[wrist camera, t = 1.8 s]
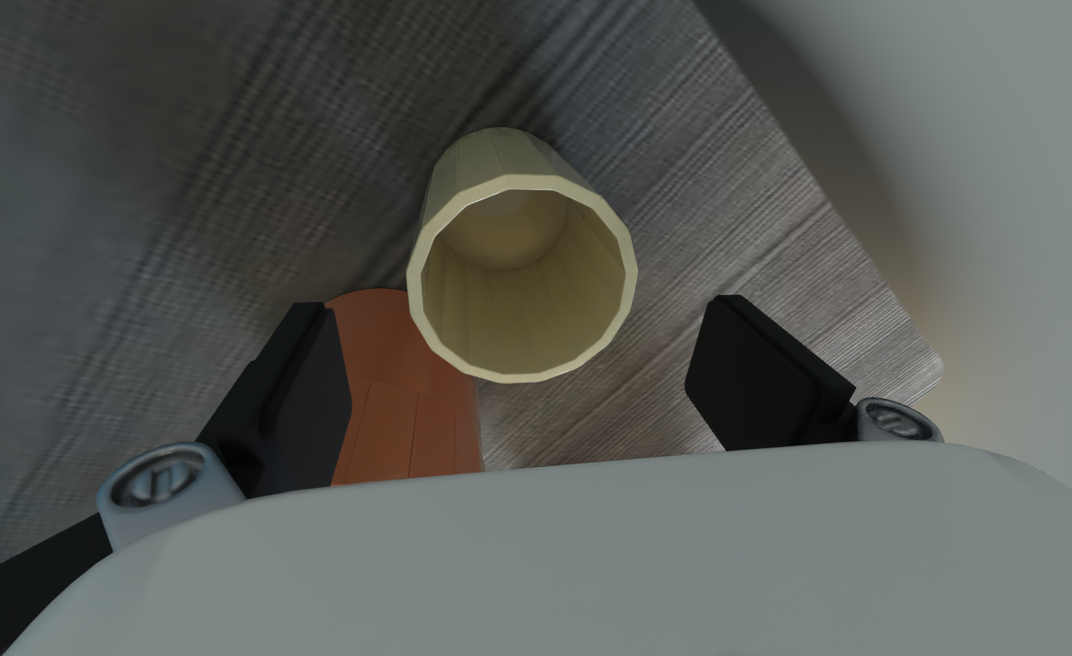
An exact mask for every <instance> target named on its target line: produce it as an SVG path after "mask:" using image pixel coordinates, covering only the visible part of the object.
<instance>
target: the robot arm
mask: <svg viewBox="0 0 1072 656" xmlns="http://www.w3.org/2000/svg"><path fill="white" fill-rule="evenodd" d="M855 389H856V387H855V386H854V385H853V384H851V383H850V382H849V381H848V380H846V379H845V378H844V377H843V376H842V375H840V374H839V373H838V372H837V371H835V370H834V369H833V368H832V367H830V366H829V365H828V364H827V363H825V362H824V361H823V360H822V359H820V358H819V357H818V356H817V355H815V354H814V353H813V352H812V351H810V350H809V349H808V348H807V347H805V346H804V345H803V344H802V343H800V342H799V341H798V340H797V339H795V338H794V337H793V336H792V335H790V334H789V333H788V332H787V331H785V330H784V329H783V328H782V327H780V326H779V325H778V324H777V323H775V322H774V321H773V320H772V319H770V318H769V317H768V316H767V315H765V314H764V313H763V312H762V311H760V310H759V309H758V308H757V307H755V306H754V305H753V304H752V303H750V302H749V301H748V300H747V299H746V298H744V297H743V296H741V295H718V296H716V297H715V298H714V299H713V301H710V302H709V303H708V305H707V307H706V311H705V314H704V318H703V321H702V324H701V328H700V331H699V335H698V338H697V342H696V345H695V348H694V352H693V355H692V359H691V362H690V365H689V369H688V372H687V376H686V379H685V392H686V394H687V396H688V397H689V399H690V400H691V402H692V403H693V405H694V406H695V407H696V409H697V410H698V412H699V413H700V414H701V416H702V417H703V419H704V420H705V422H706V423H707V424H708V426H709V427H710V429H711V430H712V432H713V433H714V434H715V436H716V437H717V439H718V440H719V441H720V443H721V444H722V446H723V447H724V449H725V450H726V451H725V452H713V453H701V454H689V455H677V456H665V457H653V458H641V459H629V460H617V461H605V462H593V463H581V464H569V465H557V466H545V467H533V468H521V469H509V470H498V471H486V472H475V473H464V474H453V475H441V476H430V477H419V478H407V479H396V480H385V481H373V482H364V483H356V484H347V485H339V486H330V485H331V482H332V479H333V475H334V472H335V469H336V465H337V462H338V458H339V455H340V452H341V448H342V445H343V442H344V438H345V435H346V431H347V428H348V425H349V421H350V418H351V414H352V397H351V392H350V387H349V382H348V377H347V372H346V367H345V362H344V357H343V352H342V347H341V342H340V337H339V332H338V327H337V322H336V316H335V312H334V310H333V309H332V308H326V307H325V305H324V304H323V303H322V302H306V303H294V304H293V305H292V307H291V308H290V309H289V311H288V312H287V314H286V315H285V317H284V318H283V320H282V321H281V323H280V324H279V326H278V327H277V329H276V330H275V332H274V333H273V335H272V336H271V338H270V339H269V340H268V342H267V343H266V345H265V346H264V348H263V349H262V351H261V352H260V354H259V355H258V357H257V358H256V360H254V361H251V362H250V363H249V364H248V365H247V366H246V368H245V369H244V371H243V372H242V374H241V375H240V377H239V378H238V379H237V381H236V382H235V384H234V385H233V387H232V388H231V390H230V391H229V392H228V394H227V395H226V397H225V398H224V400H223V401H222V403H221V404H220V405H219V407H218V408H217V410H216V411H215V413H214V414H213V416H212V417H211V418H210V420H209V421H208V423H207V424H206V426H205V427H204V429H203V430H202V431H201V433H200V434H199V436H198V437H197V439H196V440H195V442H177V443H172V444H167V445H163V446H160V447H157V448H154V449H152V450H149V451H146V452H144V453H142V454H140V455H138V456H136V457H134V458H133V459H131V460H129V461H128V462H126V463H125V464H123V465H122V466H121V467H119V468H118V469H116V470H115V471H114V472H113V473H112V474H111V475H110V476H109V477H108V478H107V479H106V480H105V481H104V482H103V484H102V486H101V488H100V490H99V492H98V493H97V507H98V510H99V512H98V513H96V514H94V515H92V516H91V517H89V518H87V519H85V520H83V521H81V522H79V523H77V524H75V525H73V526H71V527H70V528H68V529H66V530H64V531H62V532H60V533H58V534H56V535H54V536H52V537H50V538H49V539H47V540H45V541H43V542H41V543H39V544H37V545H35V546H33V547H31V548H29V549H28V550H26V551H24V552H22V553H20V554H18V555H16V556H14V557H12V558H10V559H9V560H7V561H5V562H3V563H1V564H0V656H1072V489H1070V488H1069V487H1067V486H1066V485H1064V484H1063V483H1061V482H1059V481H1058V480H1056V479H1055V478H1053V477H1051V476H1050V475H1048V474H1046V473H1044V472H1043V471H1041V470H1039V469H1037V468H1035V467H1033V466H1031V465H1029V464H1027V463H1024V462H1022V461H1019V460H1016V459H1013V458H1011V457H1007V456H1004V455H1000V454H997V453H993V452H990V451H986V450H982V449H977V448H973V447H968V446H963V445H957V444H950V443H945V442H944V439H943V436H942V434H941V432H940V430H939V428H938V427H937V426H936V425H935V424H934V423H933V422H932V421H931V420H929V419H928V418H927V417H925V416H924V415H922V414H921V413H919V412H918V411H916V410H914V409H912V408H910V407H908V406H906V405H903V404H901V403H898V402H895V401H892V400H888V399H884V398H875V397H869V398H863V399H862V400H860V401H858V403H857V405H856V407H855V406H854V405H853V404H852V403H851V402H849V400H850V398H851V397H852V395H853V393H854V391H855Z"/></svg>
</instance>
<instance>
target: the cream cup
mask: <svg viewBox="0 0 1072 656" xmlns="http://www.w3.org/2000/svg"><path fill="white" fill-rule="evenodd" d="M637 277H638V266H637V262H636V258H635V253H634V249H633V244H632V240H631V235H630V232H629V230H628V228H627V227H626V226H625V225H624V223H623V222H622V221H621V220H620V218H619V217H618V216H617V215H616V213H615V212H614V211H613V209H612V208H611V207H610V206H609V204H608V203H607V202H606V201H605V199H604V198H603V197H602V196H601V195H600V194H599V193H598V192H597V191H596V190H595V189H594V188H593V187H592V186H591V185H590V184H589V183H588V182H587V181H586V180H585V179H584V178H582V177H581V176H580V175H579V174H578V173H577V172H576V171H575V170H574V169H573V168H572V167H571V166H570V165H569V164H568V163H567V162H566V161H565V160H564V159H563V158H562V157H561V156H560V155H559V154H558V153H557V152H556V151H555V150H554V149H553V148H552V147H551V146H550V145H548V144H547V143H545V142H543V141H542V140H540V139H538V138H537V137H535V136H533V135H531V134H529V133H527V132H524V131H522V130H518V129H514V128H506V127H492V128H486V129H481V130H478V131H475V132H472V133H470V134H468V135H466V136H464V137H462V138H460V139H459V140H458V141H456V142H455V143H453V144H452V145H451V146H450V147H449V148H448V149H447V150H446V151H445V152H444V154H443V155H442V156H441V157H440V159H439V160H438V161H437V162H436V164H435V166H434V169H433V172H432V174H431V177H430V180H429V183H428V186H427V189H426V192H425V196H424V200H423V204H422V208H421V212H420V216H419V220H418V224H417V228H416V232H415V236H414V240H413V244H412V249H411V253H410V257H409V261H408V265H407V269H406V282H407V291H408V301H409V311H410V314H411V317H412V319H413V321H414V322H415V324H416V326H417V327H418V329H419V331H420V332H421V334H422V336H423V337H424V339H425V341H426V342H427V344H428V346H429V347H430V349H432V351H434V352H435V353H436V354H438V355H439V356H441V357H442V358H443V359H445V360H446V361H447V362H449V363H450V364H451V365H453V366H454V367H456V368H457V369H458V370H460V371H461V372H463V373H465V374H469V375H472V376H476V377H479V378H483V379H487V380H490V381H494V382H497V383H502V384H503V383H525V382H540V381H544V380H547V379H550V378H552V377H555V376H558V375H561V374H563V373H566V372H569V371H571V370H574V369H577V367H580V366H581V365H583V364H584V363H585V362H586V361H588V360H589V359H590V358H592V357H593V356H594V355H595V354H597V353H598V352H599V351H601V350H602V349H603V348H604V347H606V346H607V345H608V344H609V343H610V342H611V340H612V339H613V337H614V336H615V334H616V332H617V331H618V329H619V328H620V326H621V325H622V323H623V322H624V320H625V319H626V317H627V315H628V314H629V312H630V310H631V306H632V301H633V296H634V292H635V287H636V282H637Z"/></svg>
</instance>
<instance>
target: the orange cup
mask: <svg viewBox="0 0 1072 656" xmlns="http://www.w3.org/2000/svg"><path fill="white" fill-rule="evenodd" d="M324 305H325V307H326V308H332V309H333V310H334V312H335V316H336V322H337V327H338V332H339V337H340V342H341V347H342V352H343V357H344V362H345V367H346V372H347V377H348V382H349V387H350V392H351V397H352V414H351V418H350V421H349V425H348V428H347V431H346V435H345V438H344V442H343V445H342V448H341V452H340V455H339V458H338V462H337V465H336V469H335V472H334V475H333V479H332V482H331V485H330V486H339V485H347V484H356V483H364V482H373V481H385V480H396V479H407V478H419V477H430V476H441V475H453V474H464V473H475V472H485V464H484V461H483V454H482V438H481V421H480V404H479V388H478V377H476V376H472V375H469V374H465V373H463V372H461V371H460V370H458V369H457V368H456V367H454V366H453V365H451V364H450V363H449V362H447V361H446V360H445V359H443V358H442V357H441V356H439V355H438V354H436V353H435V352H434V351H432V349H430V347H429V346H428V344H427V342H426V341H425V339H424V337H423V336H422V334H421V332H420V331H419V329H418V327H417V326H416V324H415V322H414V321H413V319H412V317H411V314H410V311H409V301H408V292H407V291H402V290H396V289H383V288H376V289H364V290H359V291H353V292H350V293H347V294H344V295H341V296H339V297H336V298H334V299H332V300H330V301H328V302H327V303H325V304H324Z"/></svg>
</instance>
